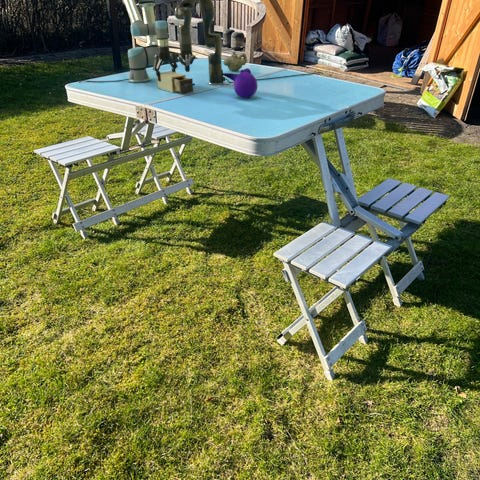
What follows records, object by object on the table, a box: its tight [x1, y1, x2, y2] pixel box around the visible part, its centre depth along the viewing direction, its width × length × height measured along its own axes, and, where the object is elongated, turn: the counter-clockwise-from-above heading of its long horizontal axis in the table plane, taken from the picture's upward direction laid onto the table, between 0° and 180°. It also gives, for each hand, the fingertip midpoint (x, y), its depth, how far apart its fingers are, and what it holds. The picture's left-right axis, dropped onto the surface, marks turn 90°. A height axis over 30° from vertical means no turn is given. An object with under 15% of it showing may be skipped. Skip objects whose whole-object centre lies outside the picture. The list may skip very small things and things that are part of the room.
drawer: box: [173, 76, 196, 94], centre depth 301 cm, size 24×10×8 cm, turn 38°
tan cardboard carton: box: [156, 70, 187, 93], centre depth 310 cm, size 20×11×10 cm, turn 38°
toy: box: [222, 67, 258, 99], centre depth 286 cm, size 16×18×27 cm
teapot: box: [222, 51, 248, 73], centre depth 364 cm, size 21×12×15 cm, turn 120°
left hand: (166, 79), depth 315 cm, fingers closed on tan cardboard carton, 11 cm apart
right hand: (187, 71), depth 290 cm, fingers closed
